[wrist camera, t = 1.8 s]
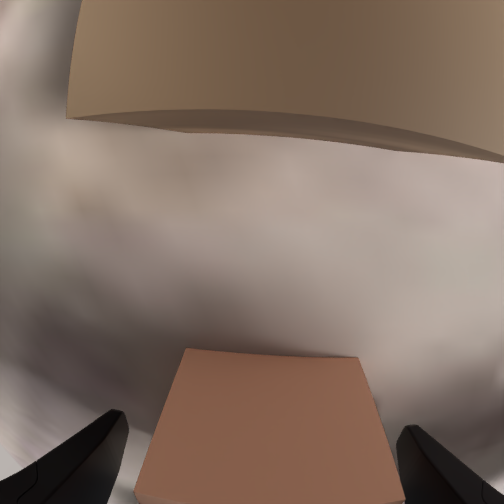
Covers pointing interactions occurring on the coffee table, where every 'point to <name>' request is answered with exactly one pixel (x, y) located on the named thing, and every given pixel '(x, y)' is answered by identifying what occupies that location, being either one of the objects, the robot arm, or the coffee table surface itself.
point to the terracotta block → (268, 434)
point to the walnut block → (298, 70)
